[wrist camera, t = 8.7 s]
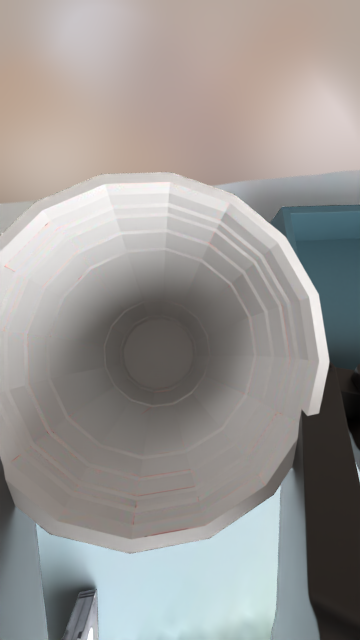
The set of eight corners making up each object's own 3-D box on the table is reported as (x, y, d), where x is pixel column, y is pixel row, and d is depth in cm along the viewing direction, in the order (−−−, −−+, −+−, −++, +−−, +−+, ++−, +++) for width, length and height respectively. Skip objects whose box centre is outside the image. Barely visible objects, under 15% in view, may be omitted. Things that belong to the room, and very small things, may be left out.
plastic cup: (108, 451, 16) (-30, 674, 5) (73, 310, 18) (-93, 214, 6) (247, 402, 18) (410, 481, 6) (203, 274, 19) (263, 140, 8)
